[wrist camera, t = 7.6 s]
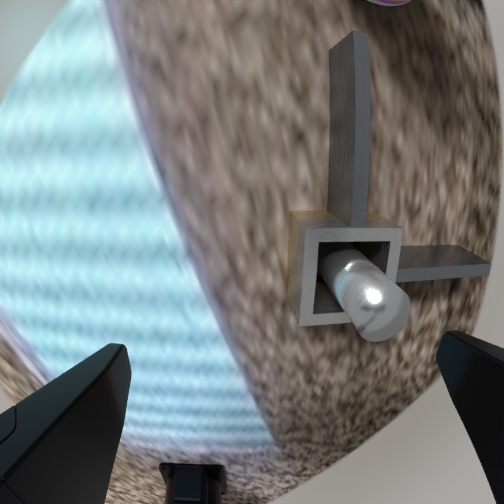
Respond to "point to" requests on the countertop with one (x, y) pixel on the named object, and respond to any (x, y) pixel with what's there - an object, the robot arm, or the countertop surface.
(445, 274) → the hinge
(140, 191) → the countertop surface
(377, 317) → the hinge pin
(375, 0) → the supplement bottle
